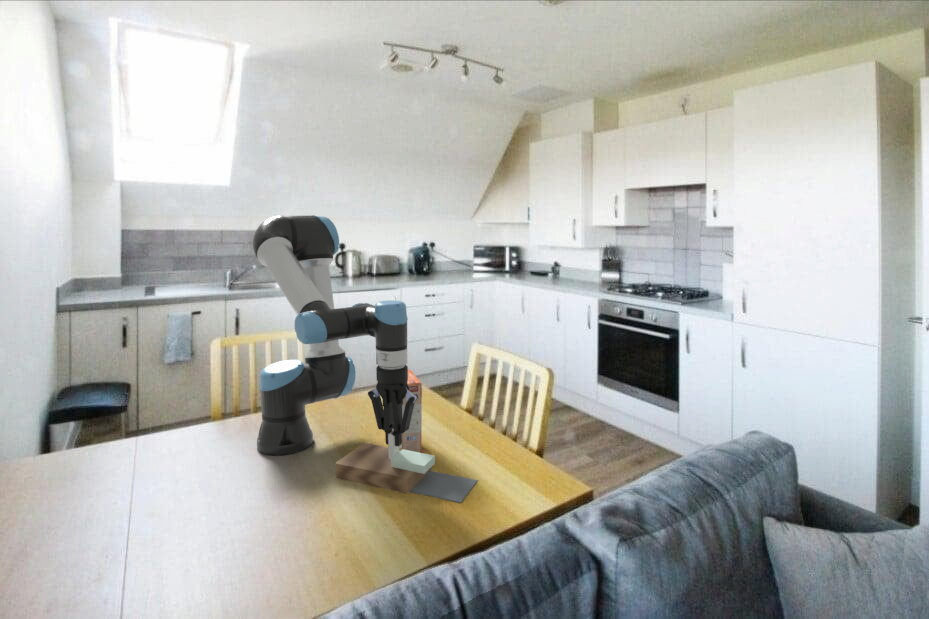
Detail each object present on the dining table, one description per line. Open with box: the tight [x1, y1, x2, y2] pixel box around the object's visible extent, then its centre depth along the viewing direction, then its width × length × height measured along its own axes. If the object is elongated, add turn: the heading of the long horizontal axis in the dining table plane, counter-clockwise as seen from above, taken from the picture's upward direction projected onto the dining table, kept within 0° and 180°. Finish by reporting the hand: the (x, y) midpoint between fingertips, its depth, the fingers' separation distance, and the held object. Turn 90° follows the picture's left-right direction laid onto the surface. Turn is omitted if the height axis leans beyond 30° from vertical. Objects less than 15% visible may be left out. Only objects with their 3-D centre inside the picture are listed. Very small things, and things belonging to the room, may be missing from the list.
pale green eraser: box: [391, 449, 436, 474], centre depth 131 cm, size 9×6×2 cm, turn 68°
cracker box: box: [392, 369, 423, 453], centre depth 148 cm, size 14×6×21 cm, turn 18°
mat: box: [409, 470, 478, 504], centre depth 129 cm, size 13×11×1 cm
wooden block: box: [334, 442, 432, 495], centre depth 135 cm, size 20×13×4 cm, turn 69°
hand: (394, 457), depth 133 cm, fingers closed
